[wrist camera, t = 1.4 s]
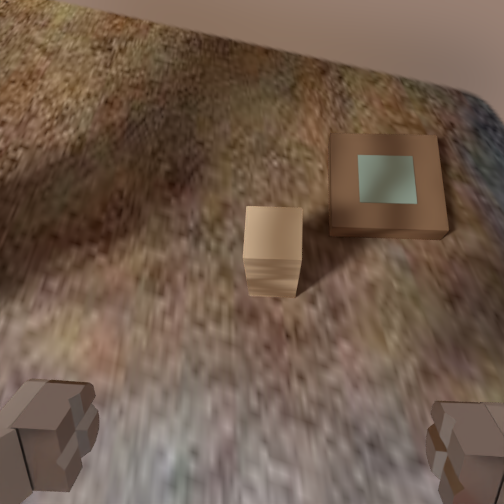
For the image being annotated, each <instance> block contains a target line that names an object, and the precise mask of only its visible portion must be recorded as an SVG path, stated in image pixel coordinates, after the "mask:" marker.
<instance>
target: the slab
mask: <svg viewBox="0 0 504 504" xmlns="http://www.w3.org/2000/svg"><path fill="white" fill-rule="evenodd" d="M328 183H329V236H336V237H366V238H396V239H425V240H441V239H442V238H443V237H444V236H445V235H446V233H447V232H448V231H449V226H448V218H447V210H446V203H445V195H444V187H443V179H442V172H441V164H440V156H439V148H438V141H437V135H400V134H347V133H330V138H329V144H328Z"/></svg>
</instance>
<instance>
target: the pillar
mask: <svg viewBox="0 0 504 504" xmlns="http://www.w3.org/2000/svg"><path fill="white" fill-rule="evenodd" d="M302 212H303V208H292V207H258V206H246V221H245V235H244V250H243V261H244V267H245V273H246V279H247V285H248V291H249V296H265V297H288V298H295V296H296V290H297V285H298V279H299V273H300V268H301V262H302Z"/></svg>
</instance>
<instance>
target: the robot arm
mask: <svg viewBox="0 0 504 504" xmlns="http://www.w3.org/2000/svg"><path fill="white" fill-rule="evenodd" d="M95 396H96V395H95V391H94V386H93V385H92V384H91V383H88V382H75V381H62V380H44V379H30V380H27V381H26V382H25V383H24V384H23V385H22V386H21V387H20V388H19V390H18V391H17V392H16V393H15V394H14V395H13V397H12V398H11V399H10V400H9V401H8V402H7V404H6V405H5V406H4V407H3V408H2V409H1V411H0V504H20V503H21V502H22V501H24V500H25V499H26V498H27V497H28V496H29V495H31V494H32V493H33V492H32V491H55V492H70V490H71V488H72V486H73V484H74V483H75V481H76V479H77V477H78V475H79V473H80V471H81V469H82V467H83V466H82V461H81V458H82V457H83V456H85V455H86V454H87V453H89V452H90V451H91V450H92V448H93V446H94V444H95V442H96V438H97V435H98V431H99V413H98V410H97V409H96V408H95V407H94V406H93V405H92V404H91V403H92V401H93V400H94V398H95ZM431 416H432V419H433V421H434V424H433V425H432V426H430V427H429V428H428V429H427V435H426V455H427V460H428V464H429V466H430V469H431V472H432V473H433V474H434V475H435V476H436V477H437V478H438V479H440V484H439V488H438V491H439V494H440V497H441V499H442V502H443V504H504V403H491V402H480V403H477V402H455V401H435V402H434V404H433V405H432V410H431Z"/></svg>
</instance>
